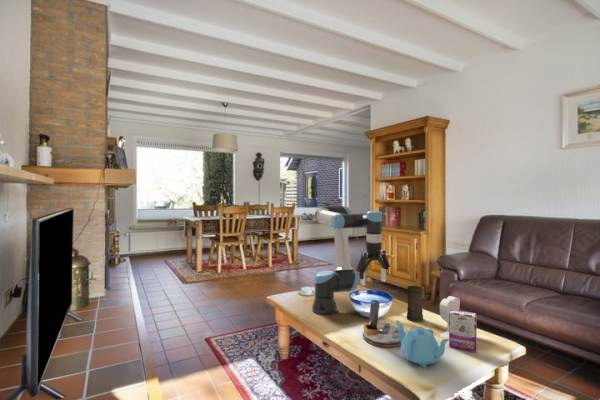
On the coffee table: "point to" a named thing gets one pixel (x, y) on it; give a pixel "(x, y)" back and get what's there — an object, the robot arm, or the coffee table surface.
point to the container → (415, 304)
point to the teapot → (420, 346)
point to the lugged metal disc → (382, 334)
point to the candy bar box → (462, 330)
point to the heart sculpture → (445, 308)
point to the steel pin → (373, 314)
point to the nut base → (381, 344)
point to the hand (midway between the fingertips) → (373, 283)
